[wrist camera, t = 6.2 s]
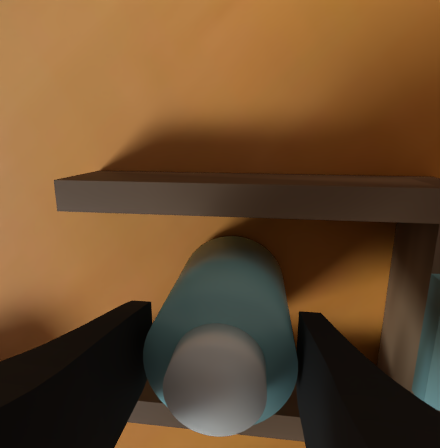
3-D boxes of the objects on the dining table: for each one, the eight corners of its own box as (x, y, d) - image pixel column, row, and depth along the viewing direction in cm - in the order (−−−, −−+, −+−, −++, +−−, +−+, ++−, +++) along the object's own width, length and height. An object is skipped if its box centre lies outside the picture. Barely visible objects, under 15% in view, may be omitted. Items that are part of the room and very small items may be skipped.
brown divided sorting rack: (376, 533, 16) (408, 647, 13) (125, 498, 18) (89, 591, 14) (432, 176, 12) (505, 194, 8) (98, 170, 14) (37, 183, 10)
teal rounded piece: (281, 332, 14) (298, 471, 8) (184, 326, 14) (134, 455, 8) (285, 237, 13) (308, 319, 7) (181, 234, 13) (123, 309, 8)
